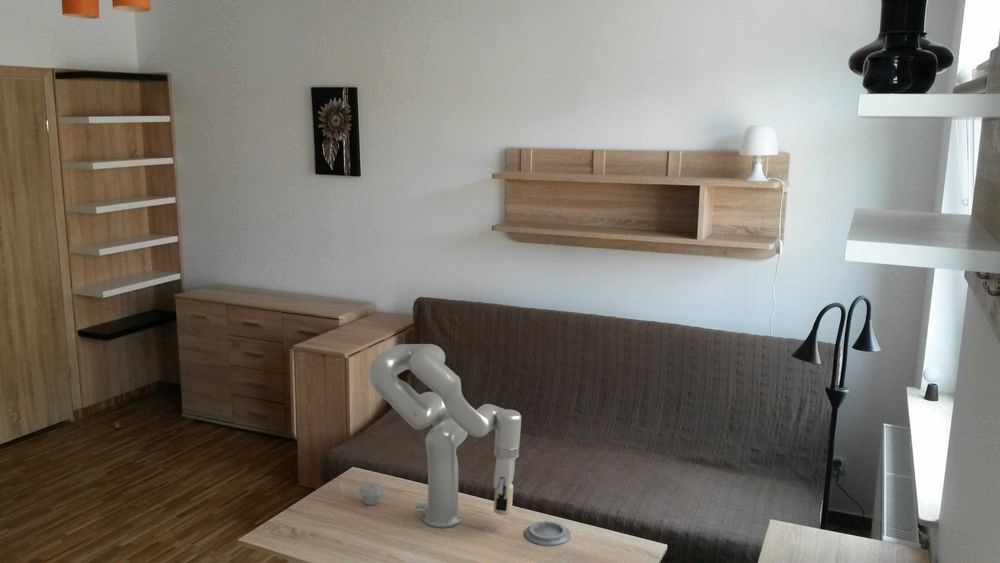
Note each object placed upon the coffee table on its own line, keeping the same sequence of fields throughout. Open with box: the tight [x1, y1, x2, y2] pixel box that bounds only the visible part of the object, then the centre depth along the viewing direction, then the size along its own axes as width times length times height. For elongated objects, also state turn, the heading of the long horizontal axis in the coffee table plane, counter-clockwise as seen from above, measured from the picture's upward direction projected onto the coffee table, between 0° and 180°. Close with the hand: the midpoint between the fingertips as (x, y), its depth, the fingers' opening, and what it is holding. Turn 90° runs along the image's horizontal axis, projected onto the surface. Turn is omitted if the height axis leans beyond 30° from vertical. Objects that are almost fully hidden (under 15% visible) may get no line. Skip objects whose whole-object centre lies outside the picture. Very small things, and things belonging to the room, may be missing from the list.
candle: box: [493, 482, 514, 516], centre depth 255 cm, size 6×6×10 cm
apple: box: [359, 481, 384, 506], centre depth 274 cm, size 8×8×7 cm
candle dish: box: [524, 520, 571, 547], centre depth 254 cm, size 14×14×2 cm
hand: (503, 504), depth 256 cm, fingers closed on candle, 5 cm apart
